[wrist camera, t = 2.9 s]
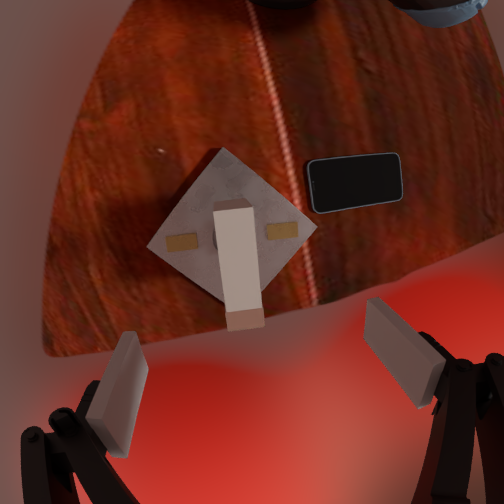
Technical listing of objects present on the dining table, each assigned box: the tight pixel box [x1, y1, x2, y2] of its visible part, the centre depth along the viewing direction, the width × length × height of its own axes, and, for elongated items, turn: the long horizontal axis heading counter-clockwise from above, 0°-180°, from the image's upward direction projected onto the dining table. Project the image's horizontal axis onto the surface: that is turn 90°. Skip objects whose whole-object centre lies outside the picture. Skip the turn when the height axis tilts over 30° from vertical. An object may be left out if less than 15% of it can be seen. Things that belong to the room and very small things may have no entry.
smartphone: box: [307, 153, 403, 214], centre depth 39 cm, size 7×1×15 cm
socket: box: [147, 147, 317, 303], centre depth 36 cm, size 16×16×6 cm
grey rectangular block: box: [213, 198, 265, 331], centre depth 29 cm, size 11×3×8 cm, turn 5°
